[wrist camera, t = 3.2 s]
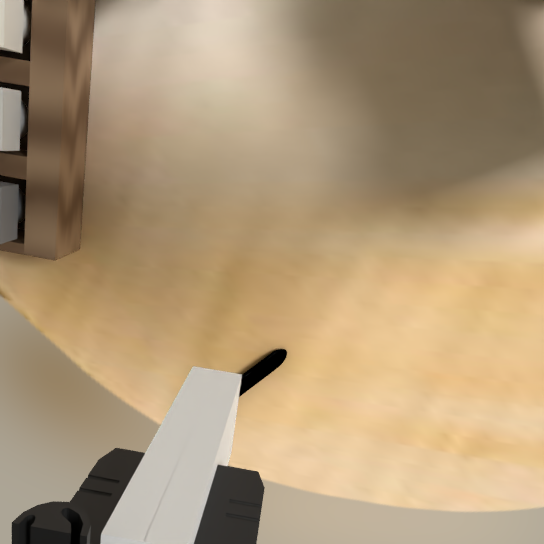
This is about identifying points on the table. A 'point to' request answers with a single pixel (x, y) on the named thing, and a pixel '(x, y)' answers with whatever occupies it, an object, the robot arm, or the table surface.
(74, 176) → the brown wooden block holder
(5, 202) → the key charcoal
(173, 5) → the table surface
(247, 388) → the pen
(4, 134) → the key grey
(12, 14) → the key white
